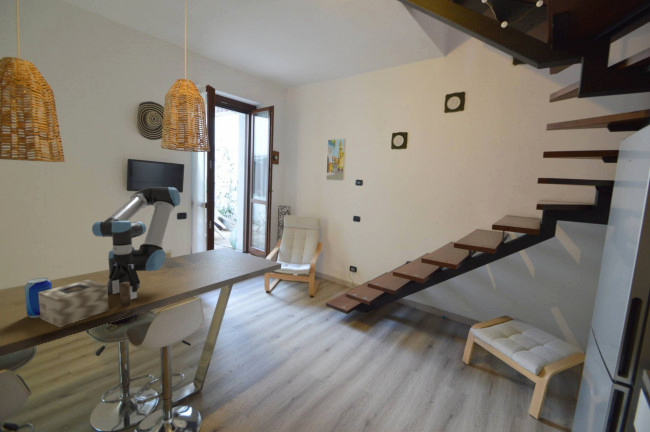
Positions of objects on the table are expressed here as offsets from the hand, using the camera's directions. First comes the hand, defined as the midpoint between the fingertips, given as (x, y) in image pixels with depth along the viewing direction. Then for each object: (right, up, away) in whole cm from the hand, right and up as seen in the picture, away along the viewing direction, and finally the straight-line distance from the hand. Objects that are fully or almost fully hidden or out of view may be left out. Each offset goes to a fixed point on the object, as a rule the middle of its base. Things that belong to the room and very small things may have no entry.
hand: (124, 295), depth 137 cm
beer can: (-30, -5, -11) cm, 32 cm away
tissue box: (-15, -6, -10) cm, 19 cm away
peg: (0, -5, +1) cm, 5 cm away
